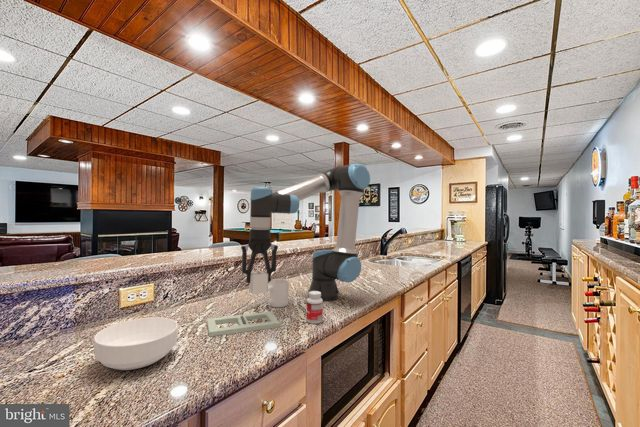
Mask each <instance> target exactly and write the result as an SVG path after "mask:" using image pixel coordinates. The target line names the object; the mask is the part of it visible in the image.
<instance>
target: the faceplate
mask: <svg viewBox="0 0 640 427" xmlns="http://www.w3.org/2000/svg"><path fill="white" fill-rule="evenodd" d="M261 319H266V320H267V321H265V322H264V321H263V322H256V323H249V321H253V320H261ZM236 322H237V325H232V326H226V327H217V325H221V324H229V323H236ZM206 325H207V332H208V337H209V338H210V337H218V336H225V335H232V334H233V335H234V334H238V333H239V334H240V333H247V332H252V331H261V330H268V329H275V328H280V327H281V322H280V321H279V320H278V318H276V316H275V315H274V313H273V312H272V311H263V312H257V313H256V312H254V313H246V314H237V315H229V316H220V317H212V318H211V317H210V318H207V320H206Z"/></svg>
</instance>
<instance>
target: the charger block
mask: <svg viewBox="0 0 640 427" xmlns="http://www.w3.org/2000/svg"><path fill="white" fill-rule="evenodd" d="M251 273H252V274H253V287H252V293H251V294H252V295H257V294H258V295H260V294H265V293H267V274H266V273H267V272H265V271H251ZM267 294H268V293H267Z"/></svg>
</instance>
